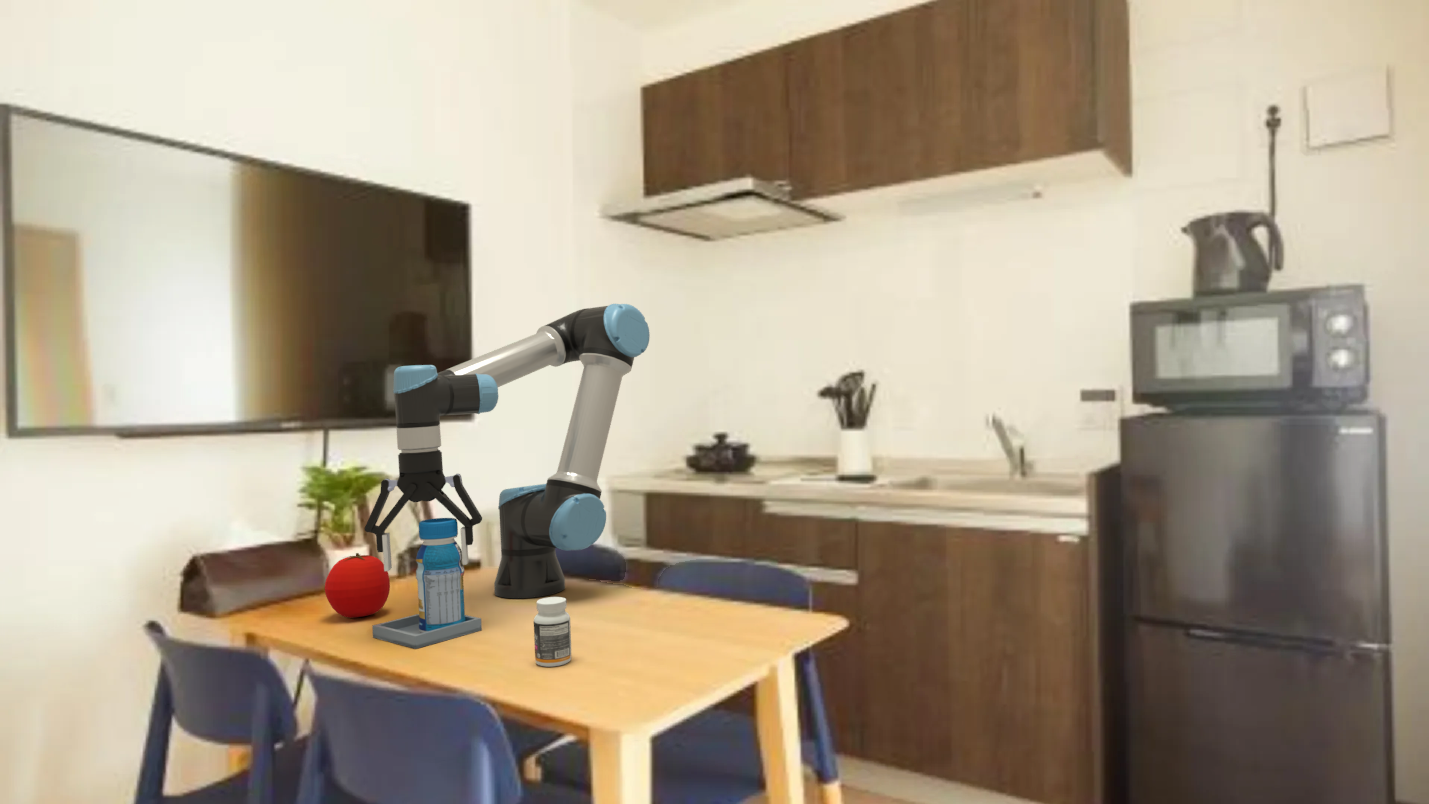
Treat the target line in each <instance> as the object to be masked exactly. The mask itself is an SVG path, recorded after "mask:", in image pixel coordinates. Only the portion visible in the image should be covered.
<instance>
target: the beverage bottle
mask: <svg viewBox="0 0 1429 804" xmlns="http://www.w3.org/2000/svg"><path fill="white" fill-rule="evenodd" d="M458 528H459V527H458V520H457V519H456V518H453V517H437V518H429V519H423V520H420V521H418V537H419V540H420V541H422V544H421V545H420V547H419V549H418V551H417V554H416V557H415V562H416V564H417V568H416V570H415V579H416V583H417V594H418V595H417V598H418V600H417V601H418V614H419V630H420V632H421V633H424V632H428V631H431V630H435V629H439V628H443V627H446V626H450V625H454V624H457V623H461V622H465V621H466V620H465V615H466V613H465V591H464V575H465V565H463V563H462V547H460V545H459V544H458V542H457V541H456V540H455V538H458V534H459V532H458V531H459V529H458Z"/></svg>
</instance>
